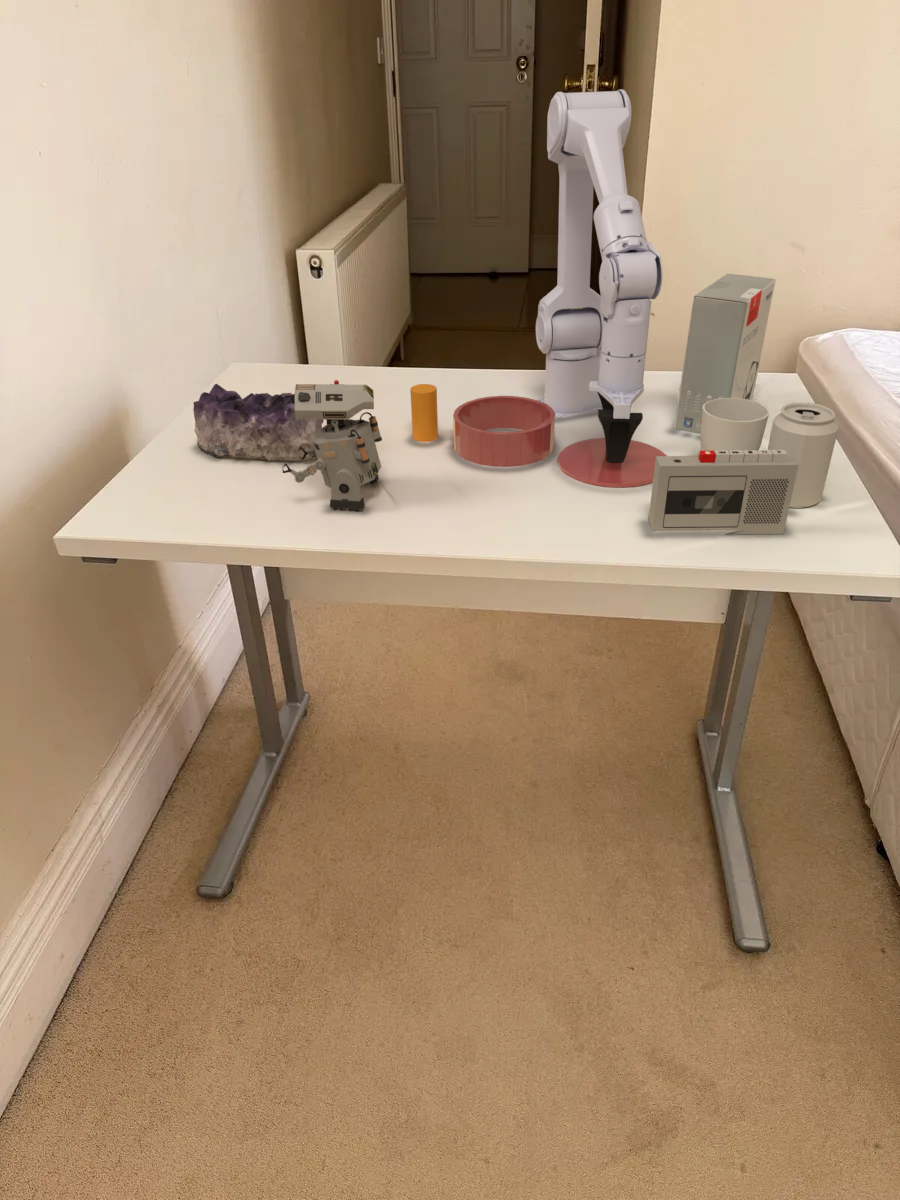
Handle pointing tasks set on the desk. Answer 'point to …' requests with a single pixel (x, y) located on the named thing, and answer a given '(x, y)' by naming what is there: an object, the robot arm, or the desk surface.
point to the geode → (252, 426)
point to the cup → (733, 424)
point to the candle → (424, 412)
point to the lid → (609, 464)
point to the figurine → (340, 439)
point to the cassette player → (723, 491)
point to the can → (806, 447)
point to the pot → (504, 445)
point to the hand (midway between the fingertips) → (614, 449)
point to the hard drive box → (723, 345)
